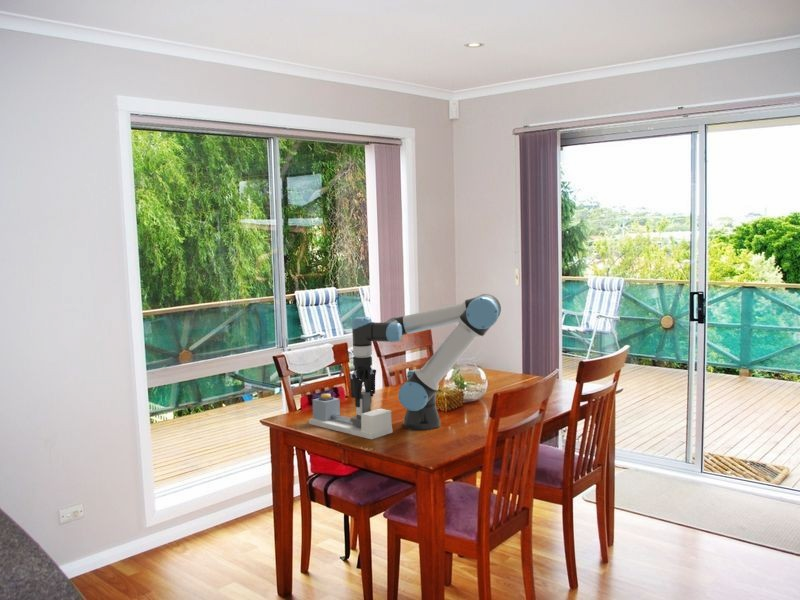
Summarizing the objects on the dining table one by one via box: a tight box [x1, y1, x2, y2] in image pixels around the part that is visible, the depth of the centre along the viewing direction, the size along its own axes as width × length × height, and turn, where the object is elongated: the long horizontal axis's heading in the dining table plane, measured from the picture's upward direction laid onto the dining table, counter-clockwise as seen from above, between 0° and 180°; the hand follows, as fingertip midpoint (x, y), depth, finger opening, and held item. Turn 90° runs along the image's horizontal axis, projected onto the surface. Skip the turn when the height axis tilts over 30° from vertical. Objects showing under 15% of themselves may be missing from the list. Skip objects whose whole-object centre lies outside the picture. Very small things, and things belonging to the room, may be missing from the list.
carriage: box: [349, 390, 372, 427], centre depth 290 cm, size 7×8×13 cm
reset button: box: [318, 393, 334, 401], centre depth 304 cm, size 4×4×5 cm
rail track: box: [308, 408, 394, 440], centre depth 296 cm, size 36×12×9 cm, turn 49°
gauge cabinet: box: [312, 397, 341, 421], centre depth 305 cm, size 8×8×8 cm
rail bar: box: [331, 414, 353, 425], centre depth 295 cm, size 22×2×2 cm, turn 49°
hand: (363, 413), depth 290 cm, fingers closed on carriage, 4 cm apart
